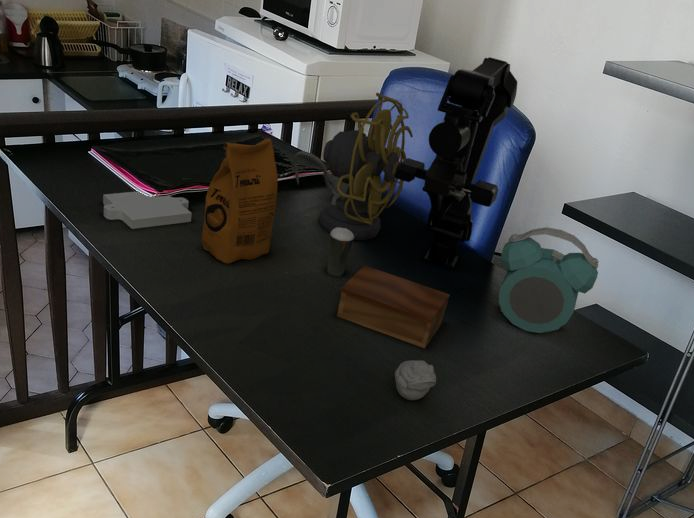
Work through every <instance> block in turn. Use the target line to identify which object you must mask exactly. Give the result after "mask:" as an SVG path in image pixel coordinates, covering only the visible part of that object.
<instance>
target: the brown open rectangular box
mask: <svg viewBox="0 0 694 518" xmlns="http://www.w3.org/2000/svg"><path fill="white" fill-rule="evenodd" d="M448 302H449V299H448V300H447V301H446V303H445V304H444V306H443V307H442V309H441V310H440V311H439V313H438V314H437V316H436V317H435V318H434V320H433V321H432V323H431V324H430V323H427V322H424V321H421V320H418V319H416V318H413V317H410V316H407V315H404V314H402V313H399V312H396V311H393V310H390V309H388V308H385V307H382V306H379V305H376V304H374V303H371V302H368V301H365V300H362V299H360V298H357V297H354V296H351V295H348V294H346V293H343V292H341V294H340V299H339V303H338V308H337V313H336V317H337V318H341V319H343V320H345V321H348V322H351V323H354V324H357V325H359V326H362V327H365V328H368V329H371V330H373V331H376V332H377V333H378V332H379V333H381V334H384V335H387V336H389V337H393V338H395V339H397V340H400V341H403V342H406V343H409V344H412V345H414V346H416V347H419V348H422V349H426V347H427V346H428V344H429V343H430V341H431V340H432V339H433V337H434V335H435V334H436V333H437V332H438V330H439V329H440V327H441V325H442V324H443V321H444V316H445V313H446V309H447V306H448V304H449V303H448Z"/></svg>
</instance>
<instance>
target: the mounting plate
mask: <svg viewBox="0 0 694 518" xmlns="http://www.w3.org/2000/svg"><path fill="white" fill-rule="evenodd" d="M102 196H103V197H102V204H103V217H104V218H105V219H106V220H111V221H114V220H120V221H122V222H123V223H125V224H126V225H127V226H128V227H129V228H130V229H132V230H135V229H144V228H151V227H152V228H153V227H160V226H167V225H168V226H169V225H176V224H183V223H191V222H192V215H193V212H191V211H190V210H189V203H190V202H189V200H188V199H187V198H185V197H179V196H178V197H173V196H171V195H169V196H165V197H148V196H145V195H144V194H142V193H140V192H139V190H138V191H127V192H115V193H107V194H106V193H105V194H103V195H102Z"/></svg>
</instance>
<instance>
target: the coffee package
mask: <svg viewBox="0 0 694 518" xmlns="http://www.w3.org/2000/svg"><path fill="white" fill-rule="evenodd" d="M222 148H223V150H225V157H224V158H223V160H222V162H221V164H220V167H219V169H218V171H217V172H216V173H215V174H214V176H213V177H212V179H211V182H210V183H209V185H208V188H207V192H206V195H205V204H204V205H205V206H204V214H203V215H204V216H203V217H204V218H203V224H202V225H203V226H202V232H201V239H200V241H201V243H202V248H203V249H204V251H207V252H209V253H210V254H211V255H212V256H214V258H215V259H216V260H218V261H219V262H222V263H224V264H232V263H234V262H237V261H240V260H246V261H248V260H249V261H251V260H256V259H258V258H259V257H261V256H264V255H267V254H269V252H270V247H271V241H272V239H271V238H272V233H273V227H274V222H275V216H276V210H277V209H276V207H277V198H278V182H279V181H278V178H279V177H278V176H279V175H278V170H277V163H276V159H275V151H274V146H273V141H272V139H271V138H265V139H263V140H261V141H259V142H257V143H256V144H254V145H252V144H244V143H243V144H241V143H236V142H232V143H231V142H227V141H225V143H224V144H223V146H222Z"/></svg>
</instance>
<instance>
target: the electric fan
mask: <svg viewBox="0 0 694 518" xmlns="http://www.w3.org/2000/svg"><path fill="white" fill-rule="evenodd" d="M375 96H376V97H377V98H378V99H379V101H378V102H376V103H375V104H374V105H373V107H372V108H371V109H370V110H369V112H368V113H367V114H366V117H365V118H364V119H361V118H360V115H359V113H358V112H357V111H356V112H352V113H351V114H350V119H352V120H353V121H354V122H355V123H357V129H352V130H348V131H339V132H338V133H337V134H335V135H334V136H333V137H332V139H330V140H328V141H327V142H325V145H324V147H323V153H322V159H323V160H321V159H320V158H319V157H318V156H317V155H315V154H313V153H311V152H310V151H305V150H301V151H298V152H296V153H295V154H294V156H293V159H292V167H293V172H294V176H295V180H296V184H297V185H299V184H300V174H299V169H298V159H299V158H300V156H305V157H308V158H311V160H313V161H315V163H317V164H319V166H320V168H321V170H322V173H323V177H324V178H323V179H324V182H325V185H326V187H327V189H328V190H329V192H330V193H331V195H333V196H332V199H331V205H328V206H326V207H323V208H322V209H321V210H320V213H319V215H318V216H319V217H318V218H319V219H318V222H319V225H320V227H321V228H322V229H323V230H324V231H325V232H327V233H328V234H330V233H331V231H332V230H333V229H334V228H346V229H348V230H349V231H351V232H352V233H353V235H354V236H355V237H354V239H353V241H366V240H371V239H374V238H376V237H377V236H378V234H379V232H380V230H381V218H380V217H379V216H380V214H382V212H383V210H384V209H388V208H390V207H391V206H392V205H393V204H394V203H395V202H396V200H397V199H398V197H399V196H400V194H401V192H402V191H403V186H404V182H405V181H403V180H400V179H397V178H395V177H394V176H395V171H396V168H397V165H398V164H400V163H401V162H403V161H404V160H406V159H407V158H408V157H407V154H406V151H405V143H406V138H405V137H406V136H405V135H406V133H405V131H407V133H408V134H409V136H410V138H413V137H414V135H413V132H412V130H411V128H410V126H408V125H405V122H404V120H406V119H409V118H410V115H409V113H408V111H407V110H406V109H405V108H404V106H403V104H402V103H401V102H399V99H395V98H393V97H390V96H388V95H384V94H382V93H380V92H376V93H375ZM387 102H389V103H392V104H393V106H391V108H389V109H386V108H385V109H382V107H383V103H387ZM377 107H378V109H377ZM395 108H396V110H397V112H398V115H397V116H396V118H395V121H394V122H393V124H392V120H393V119H392V112H391V111H393V110H394V109H395ZM376 109H377V112H376V114H375V117H374V118H373V120H372V121H371V120H369V118H370V117H371V115H372V114H373V112H374V110H376ZM404 113H405V115H403V114H404ZM365 125H370V126H369V129H368V135H367V134H366V133H365ZM399 126H400V127H399ZM400 135H401V147H400V146H397V145H398V141H399V137H400ZM323 161H324V162H325V163H326V164H327V165H328V169H327V167H326V165H325V163H324V162H323ZM328 170H329V171H330V173H331V174H332V176H333V177H336V178H338V181H337V184H336V190H337V192H336V191H335V189H334V188H333V186H332V184H331V183H330V178H329V174H328ZM382 173H383V179H382V178H381V175H382ZM398 180H399V181H398ZM382 181H383V182H382ZM342 183H344V184H347V185H348V187H347V190H346V192H343V191H342V190H341V184H342ZM397 184H399V185H398V189H397V190H396V194H395V195H394V197H393V199H392V196H393V194H394V191H395V189H396V186H397ZM385 192H387V193H386V195H385V197H383V194H384V193H385ZM342 198H343V199H342ZM338 199H342V200H340V201H338ZM391 199H392V200H391ZM390 200H391V202H390ZM337 201H338V203H336V202H337ZM389 202H390V203H389ZM388 203H389V204H388ZM359 229H360V230H359ZM357 232H358V233H357ZM356 233H357V234H356Z"/></svg>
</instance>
